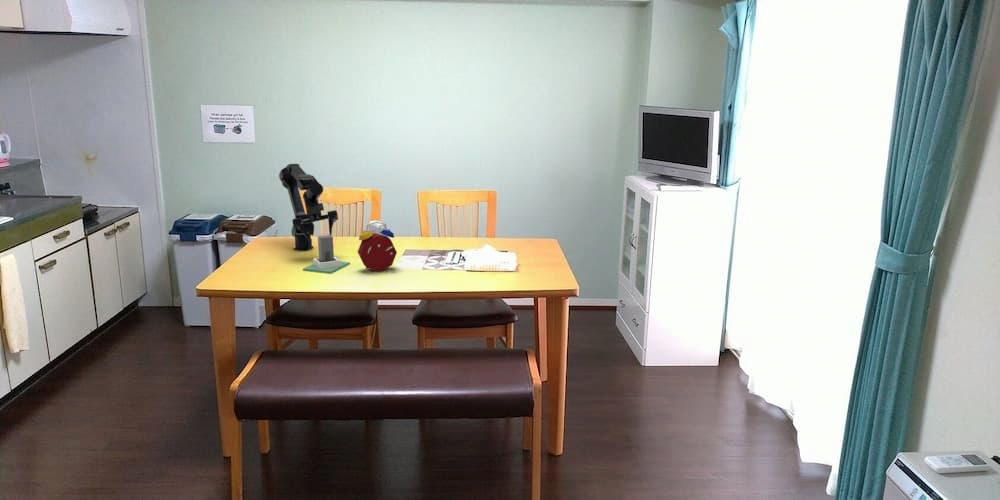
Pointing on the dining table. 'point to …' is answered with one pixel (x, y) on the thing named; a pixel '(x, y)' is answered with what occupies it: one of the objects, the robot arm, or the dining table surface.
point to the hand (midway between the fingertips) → (319, 238)
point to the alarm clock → (377, 249)
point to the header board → (329, 270)
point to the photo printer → (376, 227)
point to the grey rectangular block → (325, 248)
